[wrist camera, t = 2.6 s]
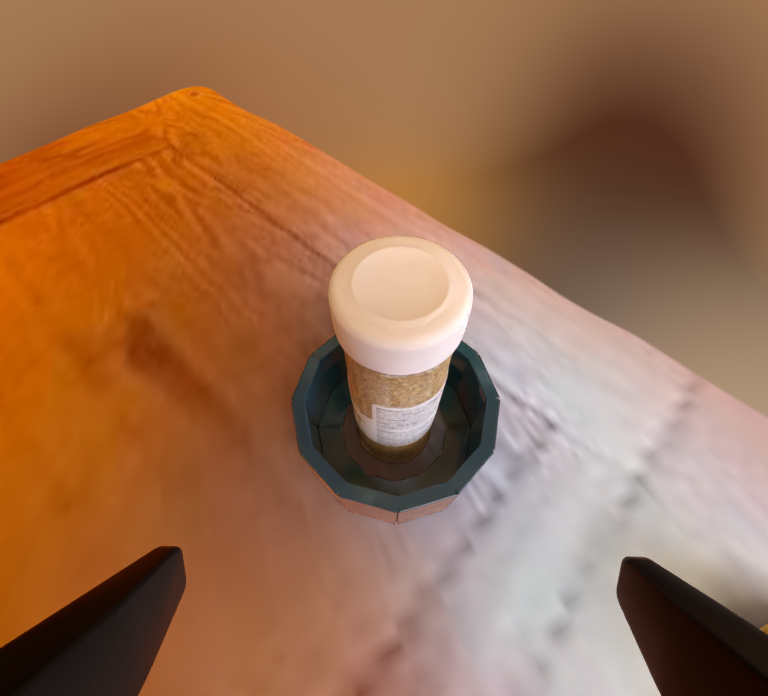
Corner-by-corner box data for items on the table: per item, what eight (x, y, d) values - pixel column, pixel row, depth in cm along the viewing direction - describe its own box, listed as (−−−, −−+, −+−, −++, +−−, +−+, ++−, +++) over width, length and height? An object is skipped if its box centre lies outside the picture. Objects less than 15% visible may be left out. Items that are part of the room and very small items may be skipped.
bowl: (396, 567, 19) (399, 566, 15) (275, 429, 23) (252, 400, 19) (513, 427, 23) (539, 398, 19) (392, 329, 26) (392, 288, 23)
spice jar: (356, 396, 24) (327, 232, 12) (426, 392, 24) (462, 226, 12) (357, 468, 21) (322, 348, 10) (435, 464, 21) (490, 340, 10)
